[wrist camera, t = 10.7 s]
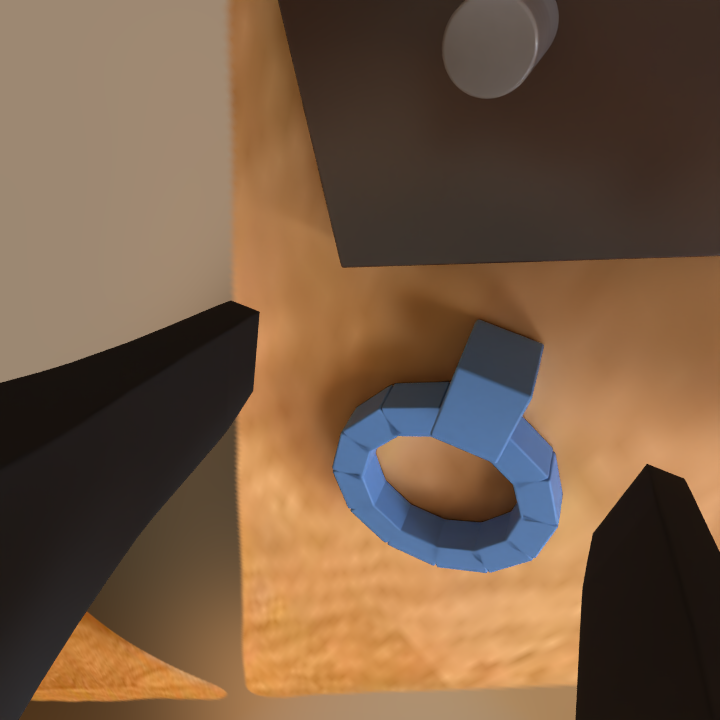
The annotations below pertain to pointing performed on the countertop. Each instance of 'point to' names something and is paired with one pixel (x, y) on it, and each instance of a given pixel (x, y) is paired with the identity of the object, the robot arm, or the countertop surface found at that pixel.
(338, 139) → the platform
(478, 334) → the ring
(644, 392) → the countertop surface
